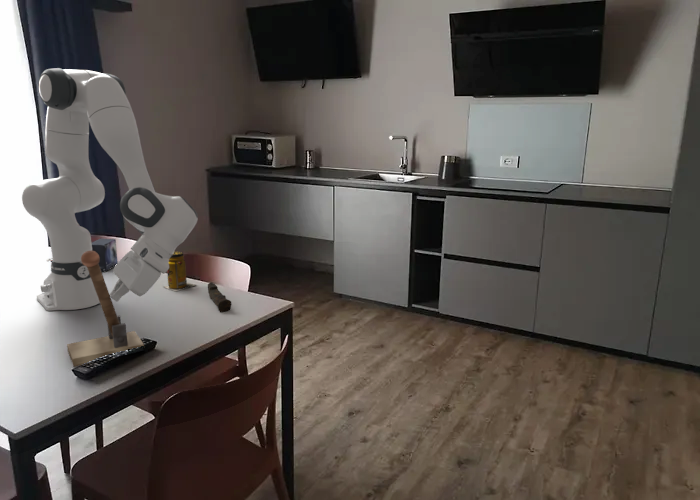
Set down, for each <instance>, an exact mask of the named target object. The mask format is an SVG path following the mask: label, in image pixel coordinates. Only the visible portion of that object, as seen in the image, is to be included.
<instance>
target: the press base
mask: <svg viewBox="0 0 700 500" xmlns="http://www.w3.org/2000/svg"><path fill="white" fill-rule="evenodd" d="M117 317H118V320H119V323H120V324H117V325H112V333H113V336H112V334H111V332H110V329H109V326H108V323H107V322H106V324H107V332H108V335H107V336H101V337H97V338H92V339H87V340H81V341H76V342H71V343H67V344H66V347H67V353H68V355H69V359H70V360H71V363H72V366H73V367H74V368H76V367H80V366H83V365H82V364H84V363H87V362H89V361H92V360H94V359H96V358H99V357H102V356H105V355H108V354H112V353H116V352H120V351H125V350H128V349H132V348H137V347H141V346H144V347H145V343H144V342H143V341H142V340H141V338H140V336H139V335H138V334H137V332H136V331H135V330H133V331H127V325H126V322H124V323H123V322H122V321H121V320H122V319H121V315H117ZM79 365H80V366H79Z"/></svg>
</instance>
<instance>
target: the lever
mask: <svg viewBox="0 0 700 500" xmlns="http://www.w3.org/2000/svg"><path fill="white" fill-rule="evenodd" d="M99 260H100V257H99V255H98V253H96V252H95V251H91V250H90V251H86V252H84V253H83V255H82V256H81V261H82V263H83V265H85V266H86V267H87V268H88V271H89V274H90V277H91V279H92V282H93V285H94V288H95V290H96V293H97V296H98V299H99V301H100V303H99V304H100V307H101V310H102V312H103V315H104V317H105V320H106V324H107V323H108V324H107V327H108V326H109V329H110V332H111V334H112V336H113V333H112V325H117V324H120V323H119V320H118V317H117V311H116V309H115V306H114V304H113V301H112V300H113V299H112V298H111V297H110V292H109V289H108V286H107V284H106V282H105V278H104V275H103V273H102V272H103V271H101V269H100V267H99V264H98V263H99Z"/></svg>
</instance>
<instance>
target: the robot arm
mask: <svg viewBox="0 0 700 500" xmlns="http://www.w3.org/2000/svg"><path fill="white" fill-rule="evenodd" d="M38 93H39V97H40V99H41V101H42V102H43V103H44V104H45V106H47V110H46V115H45V117H46V118H45V142H44V143H45V146H44V147H45V148H44V149H45V156H46V157H47V159H48V160H49V161H51V162H52V163H53V164H55V165H56V166H57V169H58V175H59V176H58V177H55V178H47V179H42V180H38V181H37V182H34V183H31V184H29V185H27V186H26V187H25V188H24V189H23V192H22V194H21V201H22V206H23V207H24V208H23V209H25V211H26V212H27V213H28V214H29V215H30V216H32V217H33V218H35V219H37V220H38V221H39V223H41V224H42V225H43V227H44V229H45V231H46V233H47V236H48V239H49V243H50V249H51V256H52V257H51V258H53V260H51V261H52V262H50V271H51V272H50V273H49V275H47V277H46V278H45V279H44V280H43V284H41V285H40V291H41V293H40V294H38V295H36V300H37V301H38V302H39V303H40V304H41V306H42V307H43V308H44V309H45V310H46V311H60V310H61V311H72V310H74V311H75V310H80V309H81V310H82V309H86V308H90V307H93V306H96V305H98V304H100V301H99V299H98V296H97V293H96V290H95V288H94V285H93V282H92V279H91V277H90V274H89V271H88V268H87V267H86V266H85V265H83V263H82V261H81V256H82V255H83V253H84V252H86V251H90V250H91V251H92V237H91V236H92V235H91V233H90V231H89V230H88V229H87V228H85V227H83V226H80V224H79V223H78V221H77V218H76V215H75V214H76V213H77V214H78V213H81V212H85V211H90V210H91V209H93V208H95V207H97V206H99V205H100V204H102V203H103V202H104V199H105V196H106V193H105V192H106V190H105V186H104V184H103V183H102V181H101V180H100V179H98V177H97V176H95V174H94V172H93V170H92V168H91V164H90V159H89V158H90V157H89V141H90V139H89V136H90V129H91V130H92V132H93V134H94V137H95V138H96V140H97V142H98V143H99V145H100V146H101V148H102V149H103V150H104V152H106V153H107V155H108V156H109V157H110V158H111V159H112V161H114V163H115V164H116V165H117V167H118V168H119V170H120V171H121V173H122V174H123V177H124V180H125V183H126V185H127V187H128V190H127V191H126V192H125V193H124V194H123V196H122V197H121V199H120V202H119V209H120V212H121V215H122V216H123V218H124V219H125V221H127V222H128V223H129V224H130V225H132V226H133V227H134V228H135V229H136V230H137V232H138V233H140V235H141V236H140V237H139V238H138V239H137V240H136V241H135V243H134V244H133V245H132V246H131V247H130V251H128V252H127V253H126V254H125V255H124V256H123V257H121V259H120V260H119V261H118V263H117V265H116V266H114V267H113V269H112V273H113V274H114V275H115V276H116V277H117V278H118V280H117V282H116V283H115V285H114V287H113V289H112V290H111V292H109V295H110V298H111V300H113V301H114V302H119V300H121V298H122V297H124V296H125V295H126V294H128V293H129V292H132V293H133V294H135V295H136V296H138V297H143V296H144V295H145V294H147V293H148V291H149V290H150V289H151V288H152V287H153V286H154V285H155V284H156V282H157V281H158V280H159V279H160V277H161V275H163V274H167V270H168V269H169V258H170V257H171V255H173V253H174V252H176V251H175V250H176V249H177V248H178V246H179V245H181V244H182V243H183V242H185V240H186V239H187V238H188V236H190V235H189V234H190V233H191V232H192V231H193V229H195V227H196V225H197V223H198V220H199V219H198V218H199V215H198V213H197V211H196V209H195V208H194V207H193V206H192V205H191V204H190V203H189V202H188V201H187V199H186V198H184V197H182V196H180V195H176V196H175V195H173V196H172V195H167V194H162V193H158V192H157V191H156V189H155V186H154V183H153V181H152V179H151V176H150V175H151V174H149V171H148V167H147V164H146V162H145V158H144V152H143V149H142V145H141V144H142V143H141V138H140V134H139V129H138V125H137V120H136V117H135V114H134V112H133V109H132V106H131V103H130V101H129V99H128V96H127V91H126V87H125V84H124V83H123V81H122V80H121V78H119V77H117V76H116V75H114V74H111V73H106V72H105V73H101V72H98V71H93V70H88V69H70V68H69V69H66V68H65V69H62V68H60V67H57V68H48V69H47V68H46V69H45V70H44V71H43V72H42V73H41V74H40V76H39V79H38Z"/></svg>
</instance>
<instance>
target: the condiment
mask: <svg viewBox="0 0 700 500" xmlns="http://www.w3.org/2000/svg"><path fill="white" fill-rule="evenodd" d="M186 269H187V267H186V260H185V256H184V252H182V251H174V253H173V255H171V257H170V258H169V269H168V270H167V272H166V274H167V284H168V285H166V286H164V288H166V289H168V290H170V291H174V292H177V291H181V290H185V289H188V288H192V287H194V286H196V284H193V283H191V282H188V280H187V270H186Z"/></svg>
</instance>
